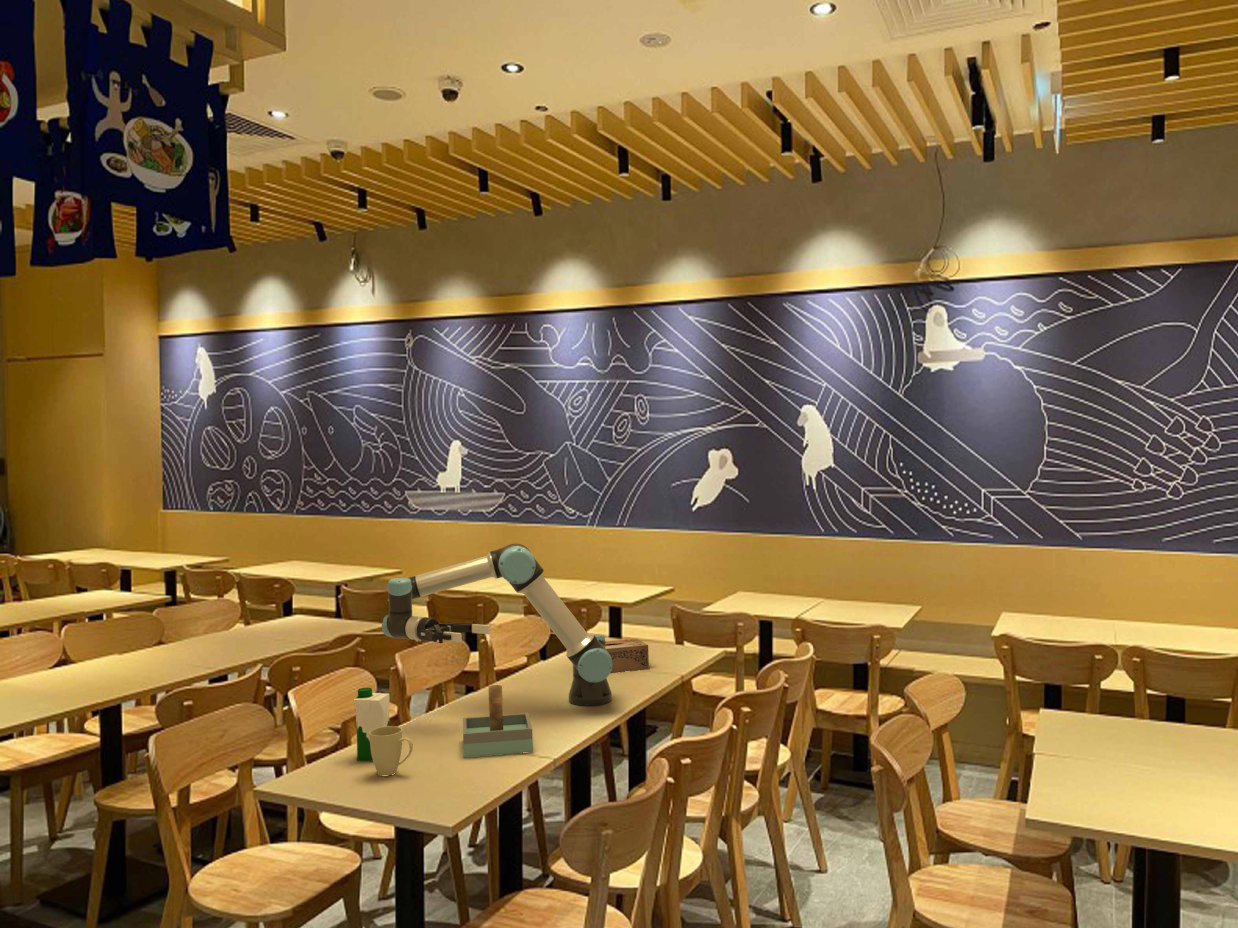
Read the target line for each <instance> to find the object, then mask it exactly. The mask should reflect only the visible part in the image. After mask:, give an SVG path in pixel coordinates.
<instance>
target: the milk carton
mask: <svg viewBox="0 0 1238 928" xmlns="http://www.w3.org/2000/svg"><path fill="white" fill-rule="evenodd" d="M353 703H354V708H355V710H354V711H355V724H356V725H355V726H356V727H355V728H356V758H357V759H356V761H359V762H373V759H372V755H371V748H370V738H369V732H370V731H371V730H373V729H375V728H379V727H385V726H390V693H382V692H373V688H372V687H362V688H358V689H357V696H356V697H355V698H354V699H353ZM371 760H372V761H371Z"/></svg>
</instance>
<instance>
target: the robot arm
mask: <svg viewBox="0 0 1238 928" xmlns="http://www.w3.org/2000/svg"><path fill="white" fill-rule="evenodd" d="M490 578H494V579H495V580H496V579H500V578H503V579H504V580H505V581H507V582H508V584H509V585H510V586H511V587H512V588H513V590H514V591H515V592H516V593H517V594H522V595H524V596H525V598H526V599H527V600H528V601H529V603H530V604H531V605H532V606H533V608H534V609H535V610H536V612H537V613H538V615H540V616H541V618H542V619H543V621H544V622H545V624H547V626H548V627H549V628H550V630H551V631H552V632H553V633H554V635H555V636H556V637H557V638H558V639H559V641H560V642H561V643H562V645H563V646H564V648H565V649H566V657H567V659H568V660H569V661H570V662H571V664H572V683H571V685H570V689H569V693H568V702H569V703H570V704H572V705H577V706H584V707H585V706H587V707H589V706H590V707H591V706H601V705H605V704H607V703H610V702H611V701H612V700H613V698H612V697H613V694H612V693H613V692H612V690H611V687H610V685H609V681H608V679H607V678H608V677H609V675H611V673H610V672H611V670H612V658H611V655H610V654H609V653H608V652H607V650H606V649H605V643H606V641H607V640H606V637H605V635H604V634H599V633H598V634H595V633H591V632H587V631H586V630H585V629H584V627H583V626H582V625H581V622H579V621H578V620H577V619H576V616H574V614H573V613H572V612H571V611H570V609H569V608H568V607H567V605H566V604H565V603H564V601H563V600H562V599H561V597H560V596H559V595H558V594H557V592H556V591H555V590H554V588H553V587H552V586H551V584H550V583H549V582H548V581H547V579H546V578H545V570H544V568H543V567H542V565H540V563H539V561H537V559H536V558H535V556H534V555H533V553H532V552H531V551H530V549H529V548H528V547H527V546H526V545H523V544H521V543H510V544H508V545H506V546H503V547H501V548H498V549H495V550H491V551H488V553H487V555H485V556H481V557H478V558H474V559H470V560H467V561H463V562H459V563H455V564H452V565H448V566H445V567H442V568H438V569H434V570H430V571H427V572H423V573H421V574H416V575H414V576H409V577H396V578H395V577H394V578H392V579H389V580H388V582H387V594H388V595H387V597H388V599H387V600H388V614H386V615H385V616H384V617H383V619H382V622H381V631H382V632H383V634H384V635H385V636H387V637H390V638H394V639H404V640H405V639H406V640H412V641H413V640H414V641H415V642H417V643H418V642H419V641H422V642H433V643H437V642H438V643H439V644H444V642H453V643H462V642H463V641H462V639H463V637H462V633H472V634H481V635H482V634H484V635H490V633H491V632H490V625H488V624H479V623H477V622H475V621H472V622H447V623H444V622H440V623H439V621H438V619H437V618H435V617H427V616H419V615H413V600H417V599H419V598H422V597H425V596H428V595H433V594H436V593H439V592H443V591H447V590H450V589H455V588H457V587H461V586H465V585H468V584H472V583H475V582H478V581H479V582H480V581H483V580H486V579H490Z"/></svg>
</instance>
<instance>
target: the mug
mask: <svg viewBox="0 0 1238 928" xmlns="http://www.w3.org/2000/svg"><path fill="white" fill-rule="evenodd" d="M369 738H370V748H371V755H372V759H373V761H372V762H373V765H374V767H375V770H376V773H377V775H378V776H379V775H392V774H394V773H396V774H397V771H398V768H399V766H400V765H402V764H403V763H405V761H407V759H408V758H409V757H410V756H411V755H412V753H413V748H414V746H413V741H412V739H411V737H410V738H409V737H403V728H402V727H400V726H392V725H389V726H385V727H379V728H375V729H373V730H371V731H370V732H369ZM404 741H407V743H408V745H409V751H408V754H407V755H406V756H405V757H404V758H403V759H402V760H401V756H402V751H403V750H402V747H403V746H402V745H403V742H404ZM400 760H401V761H400ZM392 776H393V775H392Z"/></svg>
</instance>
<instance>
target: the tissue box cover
mask: <svg viewBox="0 0 1238 928" xmlns="http://www.w3.org/2000/svg"><path fill="white" fill-rule="evenodd" d="M605 641H606V643H605V649H606V650H607V652H608V653H609V654H610V655H611V658H612V670H611V672H610V674H619V673H618V672H620V673H626V672H625V671H630V672H638V670H640V671H647V670H648V671H649V670H650V660H649V657H650V656H649V644H647V643H646V642H645V641H642V640H640V639H639V638H638V637H636V638H628V639H626V638H625V639H617V640H605Z"/></svg>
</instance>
